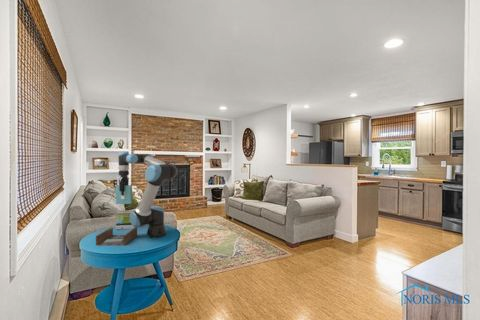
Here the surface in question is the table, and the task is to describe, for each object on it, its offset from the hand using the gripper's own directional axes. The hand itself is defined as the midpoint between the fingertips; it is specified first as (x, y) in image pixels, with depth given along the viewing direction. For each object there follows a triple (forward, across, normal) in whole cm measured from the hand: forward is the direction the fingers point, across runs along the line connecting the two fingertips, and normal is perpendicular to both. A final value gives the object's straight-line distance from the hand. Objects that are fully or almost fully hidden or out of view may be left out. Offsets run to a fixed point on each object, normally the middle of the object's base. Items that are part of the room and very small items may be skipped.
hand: (124, 198), depth 200 cm
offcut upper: (+28, +26, +5) cm, 38 cm away
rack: (+29, +21, +5) cm, 36 cm away
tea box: (+29, -16, -6) cm, 34 cm away
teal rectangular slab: (+4, 0, 0) cm, 4 cm away
